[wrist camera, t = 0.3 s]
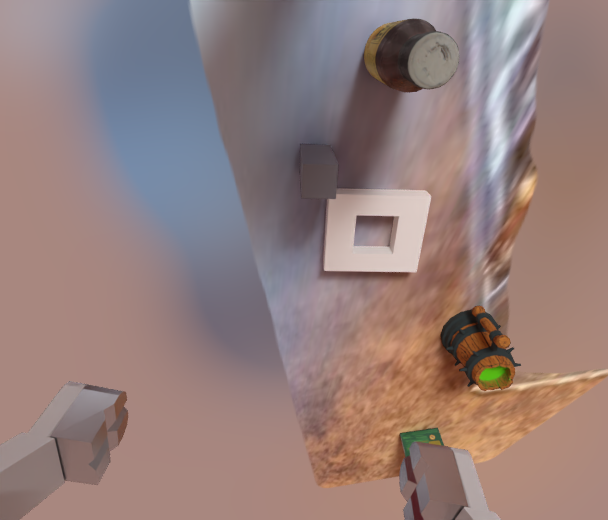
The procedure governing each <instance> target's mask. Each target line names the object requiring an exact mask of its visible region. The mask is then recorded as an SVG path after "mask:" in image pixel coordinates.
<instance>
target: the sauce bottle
mask: <svg viewBox="0 0 608 520" xmlns="http://www.w3.org/2000/svg"><path fill="white" fill-rule="evenodd" d="M364 61H365V65H366V68H367V70H368V71H369V73H370V74H371V75H372V76H373V77H374V78H375V79H377V80H379V81H380V82H382V83H384V84H385V85H387V86H389V87H390V88H393V89H395V90H399V91H402V92H417V91H419V90H421V89H434V88H438V87H441V86H442V85H444V84H446V83H447V82H448V81H449V80H450V79H451V77H452V76H453V75H454V73H455V71H456V69H457V66H458V63H459V50H458V46H457V44H456V42H455V41H454V40H453V39H452V38H451V37H450V36H449V35H448V34H446V33H442V32H438V31H436V30H435V28H434V27H433V26H432V25H431V24H430V23H428V22H427V21H424V20H421V19H407V20H402V21H397V22H392V23H387V24H384V25H382V26H380V27H379V28H377V29H376V30H375V31H374V32H373V33H372V34H371V36H370V37H369V39H368V41H367V43H366V46H365V51H364Z"/></svg>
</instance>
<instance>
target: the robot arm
mask: <svg viewBox="0 0 608 520" xmlns="http://www.w3.org/2000/svg"><path fill="white" fill-rule="evenodd" d="M126 401H127V396H126V392H124V391H118V390H113V389H108V388H103V387H98V386H92V385H88V384H82V383H77V382H71V381H69V382H68V383H67V384H65V385H64V386H63V387H62V388H61V390H60V391H59V392H58V394H57V395H56V396H55V397H54V399H53V400H52V401H51V403H50V404H49V405H48V407H47V408H46V409H45V411H44V412H43V413H42V415H41V416H40V417H39V418H38V420H37V421H36V422H35V424H34V425H33V426H32V428H31V429H30V430H29V432H28V433H20V434H18V435H16V436H15V437H13V438H11V439H9V440H8V441H6V442H4V443H2V444H1V445H0V520H20V519H21V518H22V517H23V516H25V515H26V514H27V513H28V512H30V511H31V510H32V509H33V508H34V507H36V506H37V505H38V504H39V503H41V502H42V501H43V500H44V499H46V498H47V497H48V496H49V495H50V494H52V493H53V492H54V491H55V490H57V489H58V488H59V487H60V486H62V485H63V484H64V483H65V481H71V482H79V483H86V484H94V485H98V484H99V482H100V480H101V478H102V476H103V474H104V473H105V471H106V469H107V467H108V465H109V463H110V451H111V450H113V449H114V448H115V447H117V446H118V445H119V443H120V441H121V439H122V437H123V435H124V432H125V429H126V426H127V421H128V410H127V409H126V408H125V407H124V404H125V403H126ZM409 450H410V455H409V456H407V457H405V458H404V460H403V462H402V464H401V468H400V475H399V478H400V490H401V494H402V495H403V497H404V498H405V499H406V501H407V504H406V506H405V507H404V510H403V511H404V517H405V520H501V519H500V518H499V517H498V516H497V514H496V513H495V512H492V511H489V509H488V506H487V503H486V500H485V497H484V494H483V490H482V488H481V485H480V481H479V478H478V476H477V472H476V469H475V466H474V463H473V460H472V457H471V454H470V453H469V452H468V450H464V449H457V448H451V447H448V446H442V445H436V444H429V443H423V442H417V441H415V442H413V443H412V444H411V446H410V448H409Z"/></svg>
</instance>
